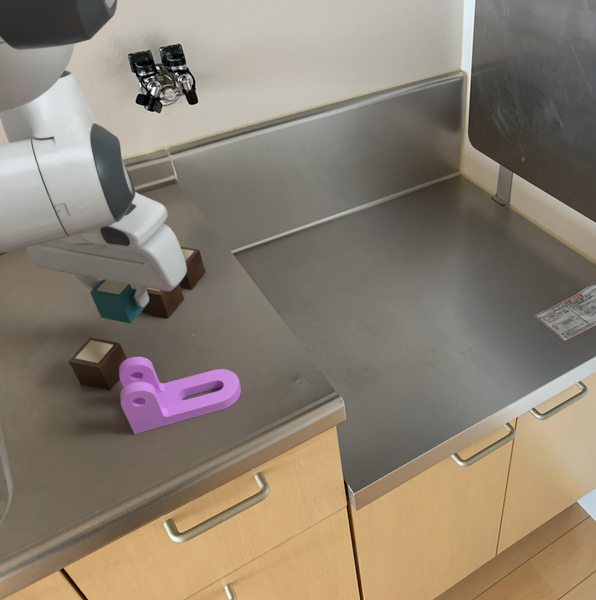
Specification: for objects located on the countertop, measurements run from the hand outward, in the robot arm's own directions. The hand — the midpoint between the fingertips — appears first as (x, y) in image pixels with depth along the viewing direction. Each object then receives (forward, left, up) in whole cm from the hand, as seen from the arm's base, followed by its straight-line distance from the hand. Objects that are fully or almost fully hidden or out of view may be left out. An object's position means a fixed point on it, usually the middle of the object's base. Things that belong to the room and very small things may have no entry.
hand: (122, 299), depth 80 cm
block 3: (+13, 0, -7) cm, 15 cm away
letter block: (0, 0, -2) cm, 2 cm away
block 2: (+7, 0, -7) cm, 10 cm away
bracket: (-8, -13, -7) cm, 17 cm away
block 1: (-7, 0, -7) cm, 10 cm away
